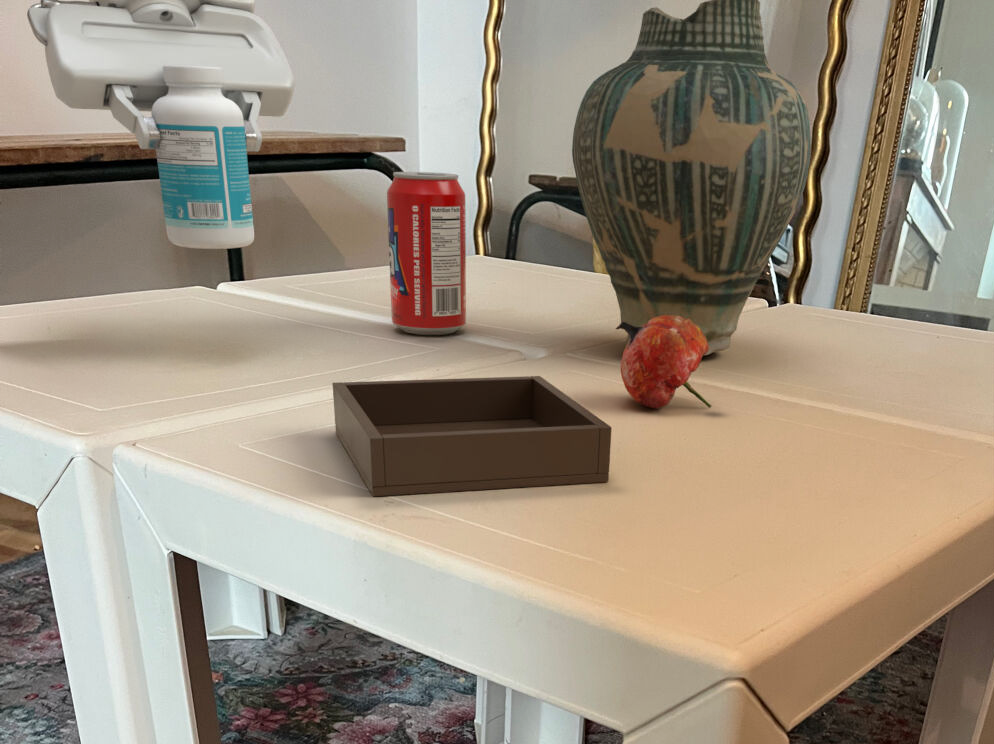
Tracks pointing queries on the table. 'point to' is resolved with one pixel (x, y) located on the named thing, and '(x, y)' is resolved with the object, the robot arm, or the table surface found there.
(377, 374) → the table surface
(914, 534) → the table surface
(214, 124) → the pill bottle
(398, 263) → the soda can
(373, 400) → the holder
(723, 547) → the table surface
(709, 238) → the vase
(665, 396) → the red lumpy rounded piece
